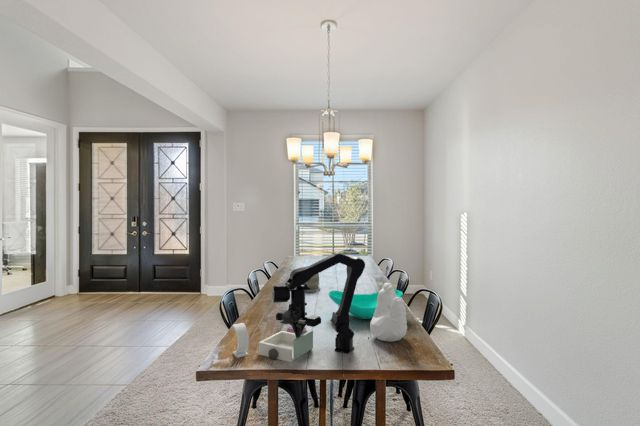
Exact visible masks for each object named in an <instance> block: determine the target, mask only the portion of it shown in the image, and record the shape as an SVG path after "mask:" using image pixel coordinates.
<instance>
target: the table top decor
mask: <svg viewBox="0 0 640 426" xmlns="http://www.w3.org/2000/svg"><path fill="white" fill-rule="evenodd" d="M394 291H395V293H396V296H397V297H400V298H402V299H403V295H404V293H403V292H402V291H400V290H398V289H394ZM378 293H379V291H377V292H373V293H370V294H369V293H367V294H365V293H361V294H360V293H358V294H355V293H354V295H353V299H352V303H351V307H350V311H349V314H351V315H353V316H354V317H355V318H357V319H360V320H361V319H362V320H372V318H373V316H374V312H375V310H376V306H377V298H378ZM342 294H343V291H341V290H331V291H329V292H328V297H329V298H330V299H331V301H333V303H334V304H336V305H337V306H338V307H339V306H340V302H341V298H342Z"/></svg>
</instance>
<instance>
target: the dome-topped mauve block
mask: <svg viewBox="0 0 640 426" xmlns="http://www.w3.org/2000/svg"><path fill="white" fill-rule="evenodd" d="M308 331H309V330H308V329H306V327H305V328H304V330H303V332H302V334H301V335H303V334H305V333H307V332H308ZM286 332H290V333H294V330H293V328H292V326H289V327H287V329H286Z"/></svg>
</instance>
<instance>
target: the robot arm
mask: <svg viewBox="0 0 640 426" xmlns="http://www.w3.org/2000/svg"><path fill="white" fill-rule="evenodd" d="M338 264H341V265H345V266H346V278H345V284H344V288H343V291H342V292H343V294H342V298H341V302H340V306H339V305H338V310H337V311H335V312H334V311H333V312H332V316H331V319H330V320H329V321H330V322H331V326H332V328H333V329H334V331H335V332H336V333H337V334H336V335H335V336H336V337H335V340H334V341H335V342H334V343H335V348H334V349H333V350H334V351H335V352H336V351H337V352H340V353H345V354H349V353H350V352H351V351H353V350H354V349H355V346H354V342H353V341H354V336H355V332H354V331H353V330H352V329H351V328H350V322H351V321H350V313H349V311H350V307H351V303H352V299H353V295H354V294H355V292H356V291H355V290H356V288H357V283H358V281H359V279H360V278H361V276H362V275H363V272H364V270H365V267H366V262H365V261H364V260H363V259H362V258H360V257H358V256H355V255H354V256H348V255H346V254H343V253H342V252H339V251H336V252H334V253H332V254H331V255H329V256H326V257H324V258H322V259H321V260H318V261H317V262H314V263H312V264H310V265H308V266H307V265H306V266H302V267H299V268H295V269H293V270H292V271H291V272H290V274H289V277H288V279H287V281H285V283H284V284H283V285H282V284H281V285H278V284H274V285H273V286H272V292H271V297H272V299H271V300H272V304H275V303H278V304H279V303H288V301H289V300H290V303H289V304H288V309H286V310H285V309H283V310H281V311H277V313H276V314H275V320H276V321H279V322H281V321H282V320H283V323H282V324H284V323H285V324H286V323H287V324H286V325H290V327H292V328H293V330H294V333H295V335H296V338H298V337H299V336H301V334H302V332H303V330H304V328H306V327H311V328H313V327H314V328H315V327H317V326H319V325H321V323H322V318H321V316H318V315H314V314H312V315H310V316H307V315H308V313H307V312H306V306H308V303H307V302H306V292H305V290H310V288H309V287H308V286H307V285H306V282H307V281H309V280H310V279H311V278H312V277H313V276H314V275H316V274H320V273H322V272H323V271H326V270H328V269H330V268H331V267H333V266H336V265H338Z"/></svg>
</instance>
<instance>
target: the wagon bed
mask: <svg viewBox="0 0 640 426" xmlns="http://www.w3.org/2000/svg"><path fill="white" fill-rule="evenodd" d="M294 339H296V335H295V333H290V332H287V330H286V331H284V330H280V331H279V332H276V333H274V334H272V335H270V336H268V337H266V338H264V339H263V340H260V341H259V342H258V355H260V356H264V357H268V358H269V359H270V360H275V359H276V360H280V361H284V362H288V363H292V362H294V361H295V360H296V359H293V340H294Z"/></svg>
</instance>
